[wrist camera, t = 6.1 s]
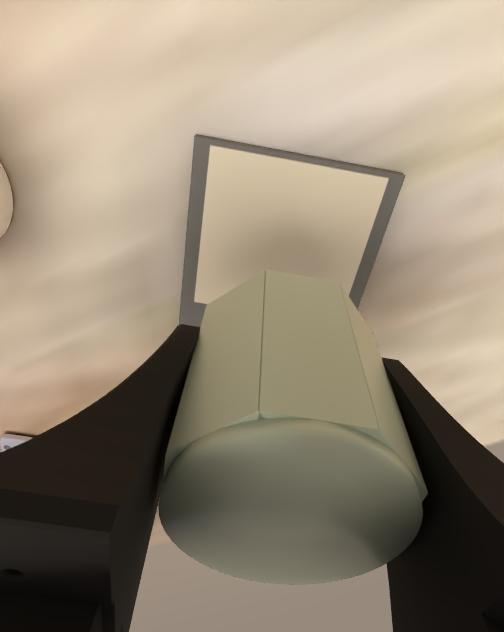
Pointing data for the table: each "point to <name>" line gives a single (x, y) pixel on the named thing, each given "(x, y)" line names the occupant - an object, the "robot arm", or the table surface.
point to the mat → (279, 220)
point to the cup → (5, 201)
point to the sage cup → (289, 440)
